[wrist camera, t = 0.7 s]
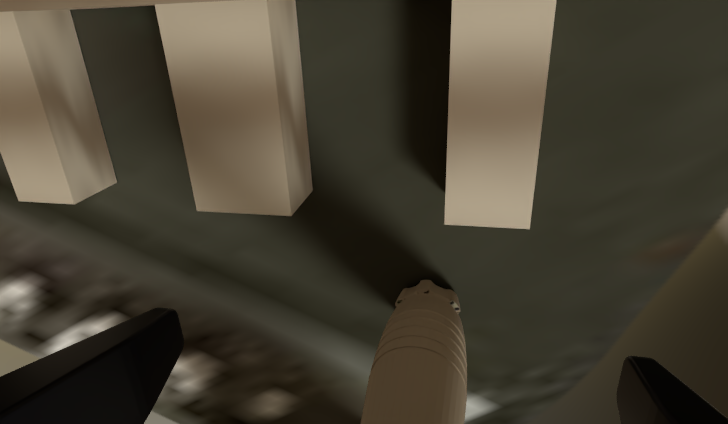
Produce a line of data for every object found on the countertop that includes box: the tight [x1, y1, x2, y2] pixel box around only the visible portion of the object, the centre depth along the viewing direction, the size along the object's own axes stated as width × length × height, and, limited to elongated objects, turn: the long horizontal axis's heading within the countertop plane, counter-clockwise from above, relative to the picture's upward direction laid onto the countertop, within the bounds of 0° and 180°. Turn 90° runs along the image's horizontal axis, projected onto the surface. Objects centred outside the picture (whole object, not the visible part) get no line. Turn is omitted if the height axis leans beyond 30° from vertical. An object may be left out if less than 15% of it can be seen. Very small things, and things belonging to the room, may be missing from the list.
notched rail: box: [0, 0, 556, 229], centre depth 20 cm, size 10×24×3 cm, turn 93°
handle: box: [361, 280, 467, 424], centre depth 17 cm, size 5×6×15 cm
